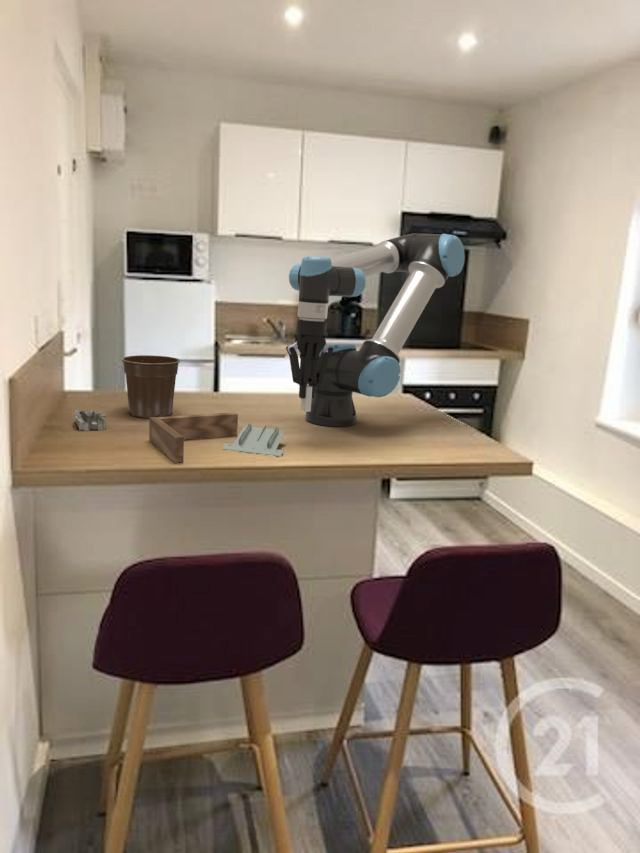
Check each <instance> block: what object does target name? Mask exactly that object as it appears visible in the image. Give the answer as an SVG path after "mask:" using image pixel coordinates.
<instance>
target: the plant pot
mask: <svg viewBox="0 0 640 853" xmlns="http://www.w3.org/2000/svg"><path fill="white" fill-rule="evenodd" d="M121 361H122V363H123V371H124V372H123V373H124V374H125V381H126V392H127V401H128V402H127V404H128V414H130V415H131V416H132V417H137V418H143V419H149V418H152V417H168V416H169V415H170V416H172V414H173V407H174V406H173V405H174V397H175V388H176V381H177V380H176V378H177V375H178V371H179V363H181V359H179V358H177V357H173V356H165V355H151V354H150V355H146V354H145V355H143V354H141V355H140V354H139V355H138V354H137V355H129V356H124V357H123V356H122V358H121Z"/></svg>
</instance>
